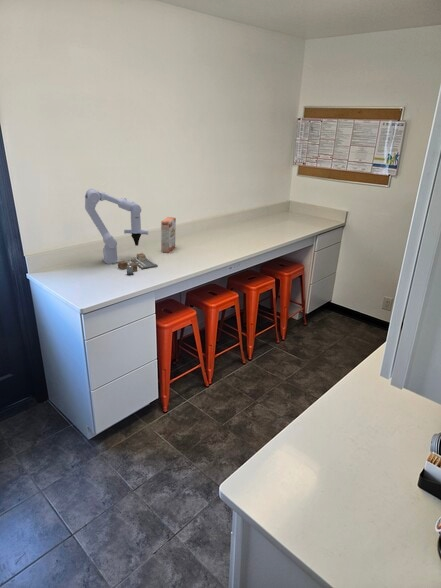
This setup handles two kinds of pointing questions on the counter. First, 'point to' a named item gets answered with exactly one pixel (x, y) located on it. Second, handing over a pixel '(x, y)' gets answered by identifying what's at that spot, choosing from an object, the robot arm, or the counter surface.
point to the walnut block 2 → (134, 266)
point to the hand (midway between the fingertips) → (136, 245)
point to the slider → (141, 257)
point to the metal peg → (129, 269)
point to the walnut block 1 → (122, 265)
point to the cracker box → (168, 234)
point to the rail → (144, 263)
